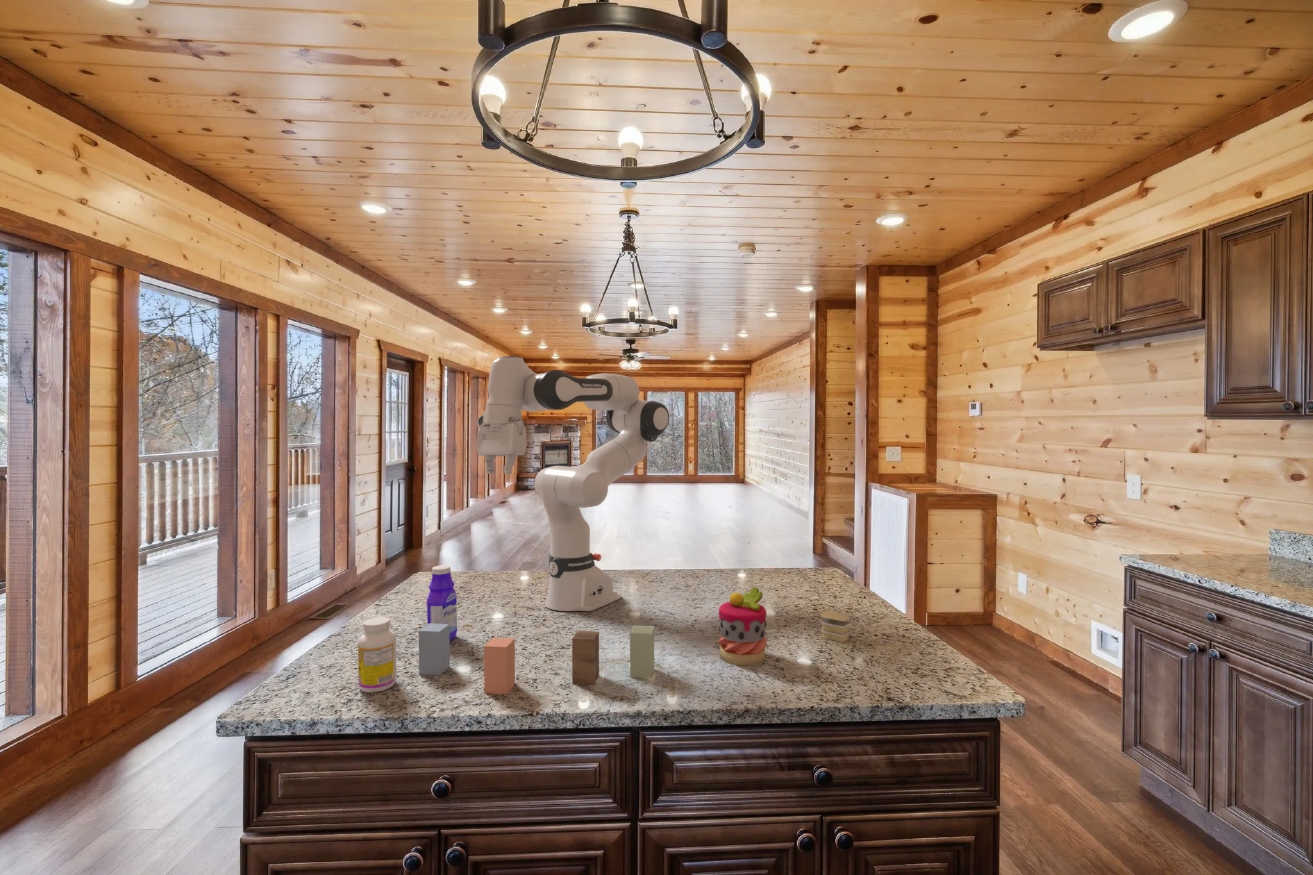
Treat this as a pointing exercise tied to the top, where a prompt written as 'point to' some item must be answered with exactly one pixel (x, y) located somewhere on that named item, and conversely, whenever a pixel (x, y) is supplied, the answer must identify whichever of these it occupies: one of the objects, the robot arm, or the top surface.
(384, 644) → the supplement bottle
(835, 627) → the pale yellow layered block
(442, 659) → the slate block
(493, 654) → the terracotta block
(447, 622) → the bottle
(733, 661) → the cake
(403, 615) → the top surface
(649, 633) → the sage block
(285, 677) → the top surface
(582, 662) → the walnut block
